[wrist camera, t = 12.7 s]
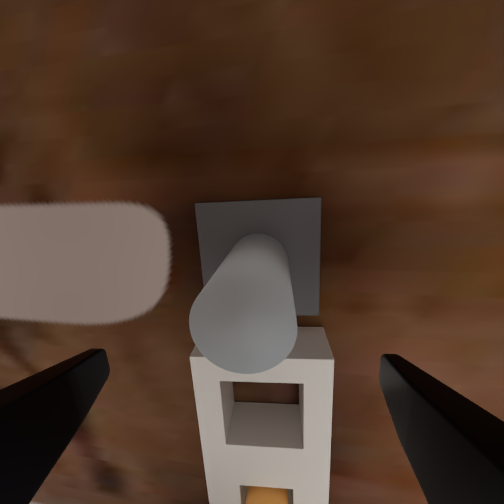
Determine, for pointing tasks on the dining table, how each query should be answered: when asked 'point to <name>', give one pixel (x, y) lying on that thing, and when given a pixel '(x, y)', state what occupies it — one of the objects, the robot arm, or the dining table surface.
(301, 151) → the dining table surface
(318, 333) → the white slotted block
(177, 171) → the dining table surface
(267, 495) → the plunger
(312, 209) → the mat
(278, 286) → the cylinder
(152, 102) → the dining table surface
